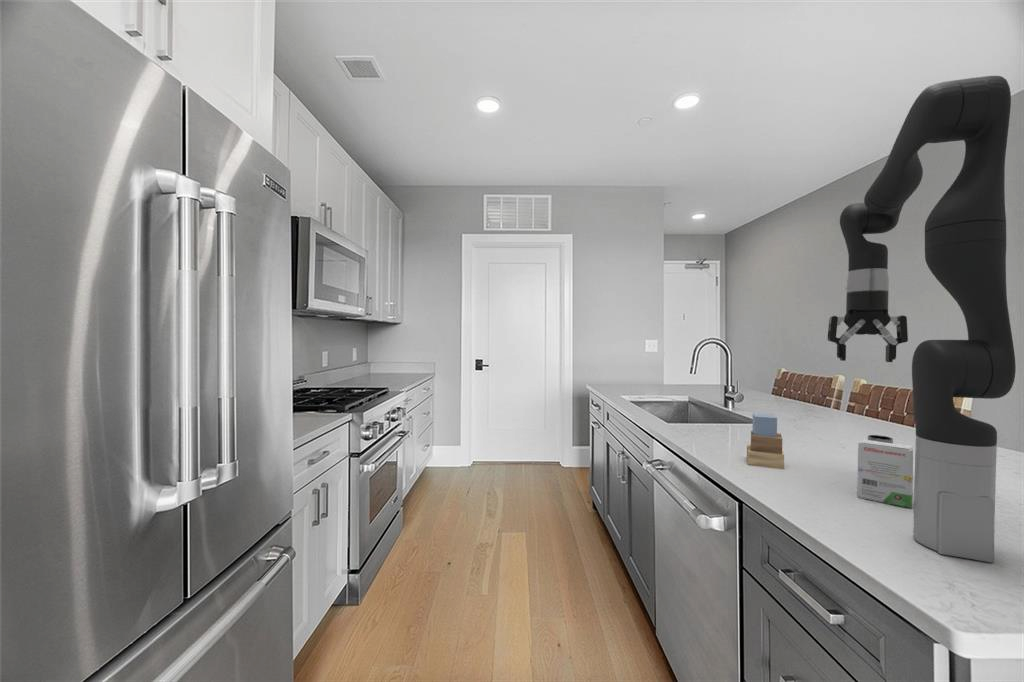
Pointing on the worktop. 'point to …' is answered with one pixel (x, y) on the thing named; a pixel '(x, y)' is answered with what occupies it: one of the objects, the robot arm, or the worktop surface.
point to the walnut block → (766, 444)
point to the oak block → (765, 459)
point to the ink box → (885, 472)
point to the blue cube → (765, 425)
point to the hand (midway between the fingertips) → (865, 361)
